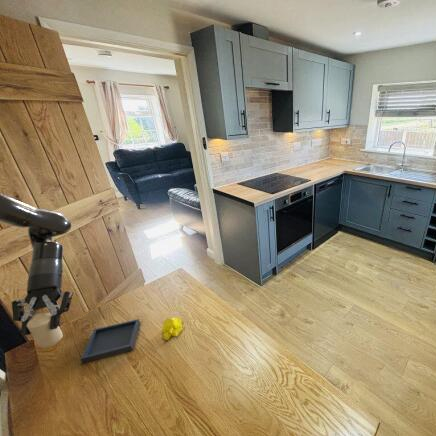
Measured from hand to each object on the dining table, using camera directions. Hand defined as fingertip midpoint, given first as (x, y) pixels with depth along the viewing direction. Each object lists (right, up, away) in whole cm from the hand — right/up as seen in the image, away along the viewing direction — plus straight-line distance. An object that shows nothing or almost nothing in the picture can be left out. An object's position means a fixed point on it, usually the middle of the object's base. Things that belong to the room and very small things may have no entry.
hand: (40, 331), depth 70 cm
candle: (-1, -5, +4) cm, 6 cm away
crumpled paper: (+28, -10, +22) cm, 37 cm away
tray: (+9, -12, +17) cm, 23 cm away
